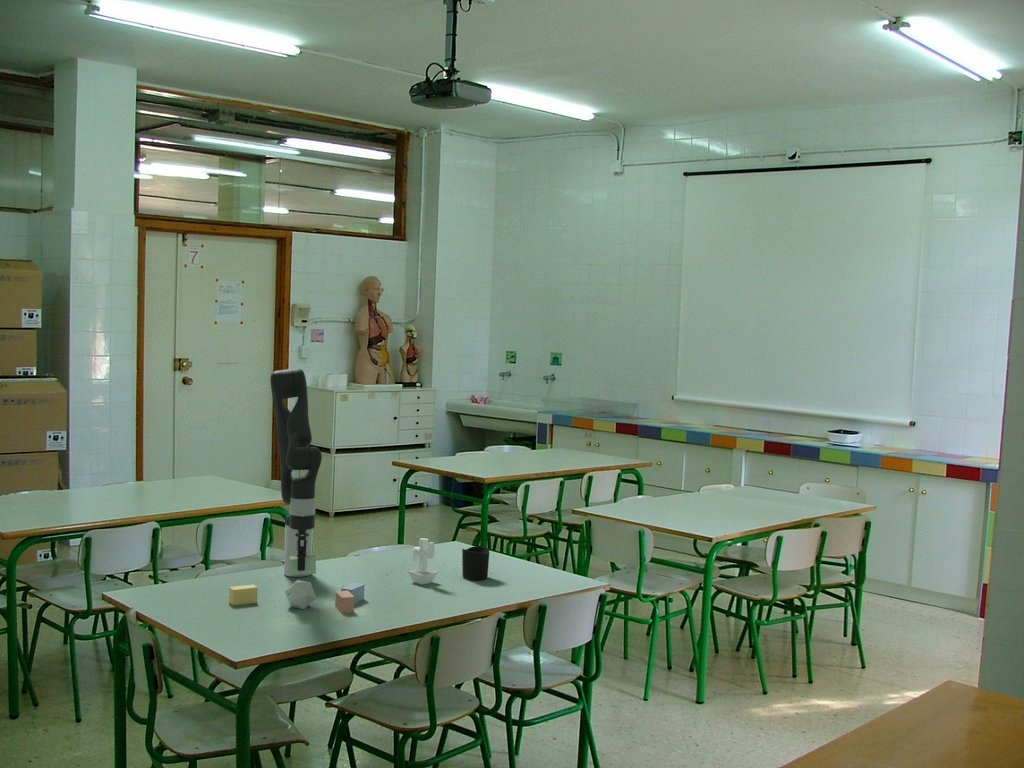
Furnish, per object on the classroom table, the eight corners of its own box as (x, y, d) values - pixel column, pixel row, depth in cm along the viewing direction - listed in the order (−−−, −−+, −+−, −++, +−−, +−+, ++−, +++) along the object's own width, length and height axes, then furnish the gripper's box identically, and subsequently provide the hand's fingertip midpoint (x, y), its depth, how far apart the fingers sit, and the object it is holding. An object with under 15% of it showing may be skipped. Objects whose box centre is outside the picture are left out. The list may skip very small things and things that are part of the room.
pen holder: (490, 580, 343) (491, 552, 343) (462, 581, 342) (463, 552, 341) (486, 574, 352) (487, 546, 352) (460, 574, 351) (461, 546, 351)
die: (289, 604, 308) (277, 584, 302) (314, 589, 310) (302, 568, 305) (298, 620, 301) (286, 599, 296) (323, 604, 304) (312, 584, 298)
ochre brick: (229, 602, 306) (229, 587, 305) (253, 599, 310) (253, 584, 310) (232, 605, 303) (233, 590, 302) (257, 602, 307) (257, 587, 306)
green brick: (290, 572, 304) (290, 556, 304) (315, 570, 306) (315, 555, 305) (290, 575, 300) (290, 559, 300) (315, 573, 302) (315, 558, 302)
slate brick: (340, 603, 309) (340, 588, 309) (353, 597, 316) (354, 582, 316) (351, 605, 308) (351, 589, 307) (364, 599, 314) (364, 584, 314)
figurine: (421, 578, 344) (423, 534, 343) (439, 583, 337) (441, 539, 336) (405, 581, 339) (406, 537, 338) (423, 586, 332) (424, 542, 331)
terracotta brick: (341, 613, 298) (342, 597, 298) (335, 607, 305) (335, 591, 305) (354, 612, 300) (354, 596, 299) (347, 606, 307) (347, 590, 306)
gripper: (289, 508, 308) (288, 563, 309) (289, 516, 294) (288, 574, 295) (314, 508, 310) (312, 563, 310) (315, 516, 296) (314, 574, 297)
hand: (300, 568), depth 303 cm, fingers closed on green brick, 3 cm apart
